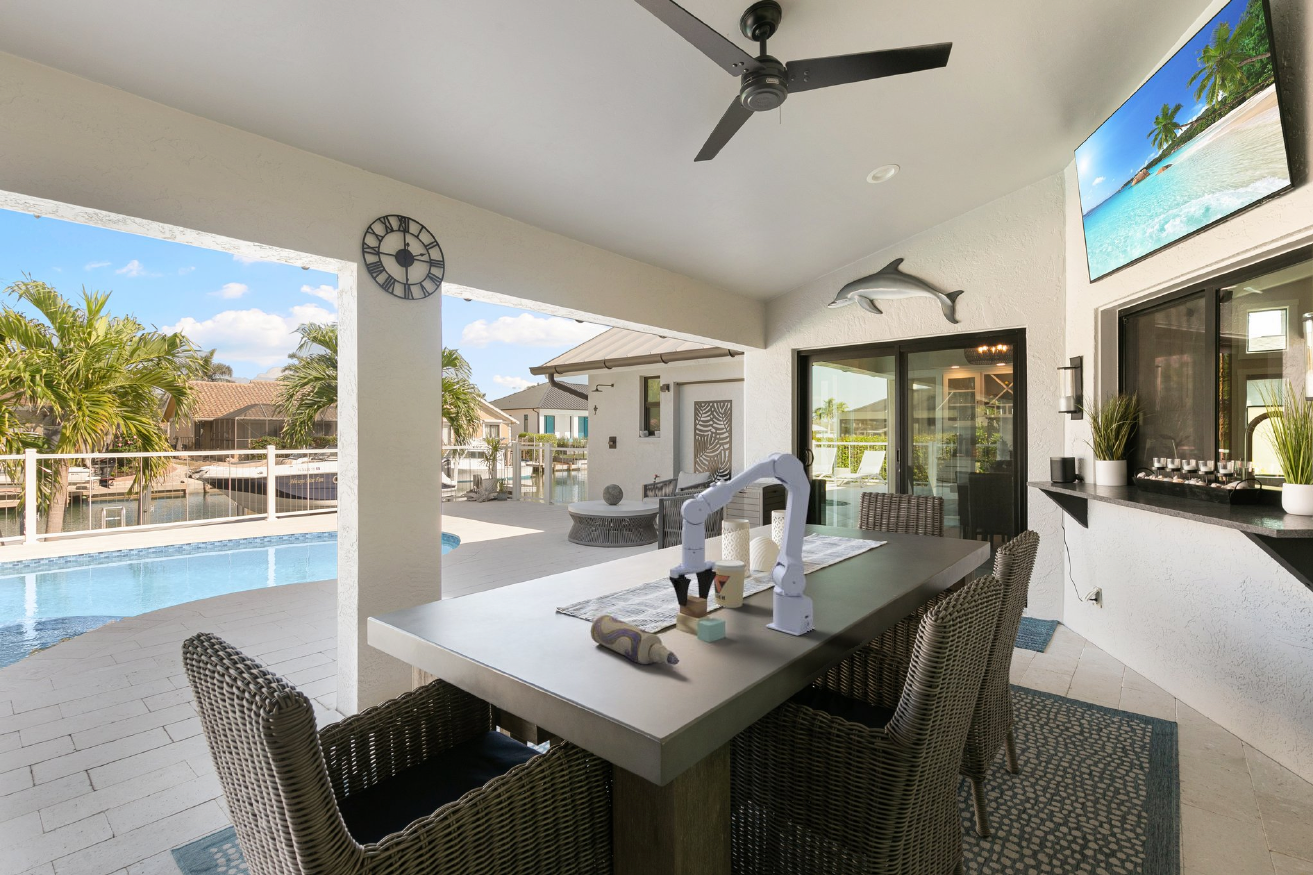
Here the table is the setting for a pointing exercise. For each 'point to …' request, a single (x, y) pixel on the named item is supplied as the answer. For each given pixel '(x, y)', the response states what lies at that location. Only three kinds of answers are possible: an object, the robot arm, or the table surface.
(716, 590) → the coffee cup
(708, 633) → the teal block
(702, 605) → the walnut block
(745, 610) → the table surface
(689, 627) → the maple block
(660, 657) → the decorative bottle
